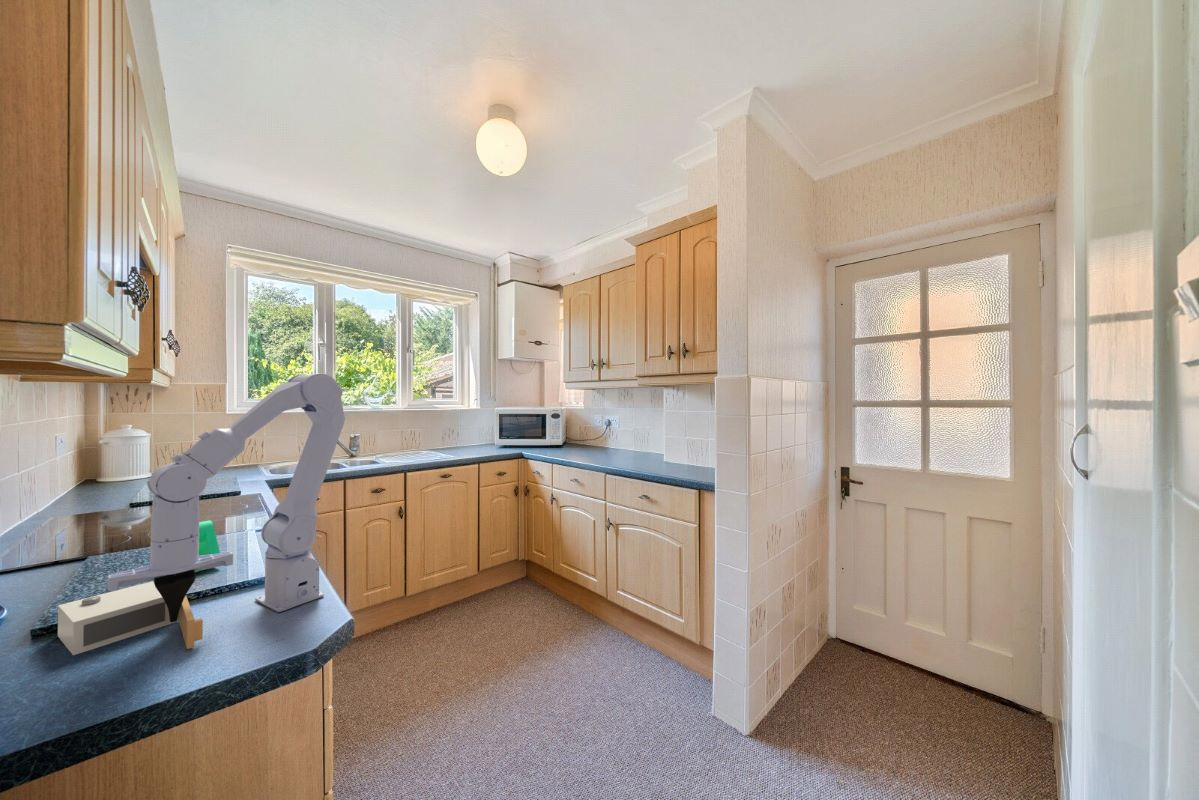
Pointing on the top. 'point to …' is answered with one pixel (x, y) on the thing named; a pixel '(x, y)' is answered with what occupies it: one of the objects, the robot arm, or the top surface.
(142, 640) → the top surface
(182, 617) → the door
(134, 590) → the housing
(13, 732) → the top surface
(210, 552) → the camera mount
